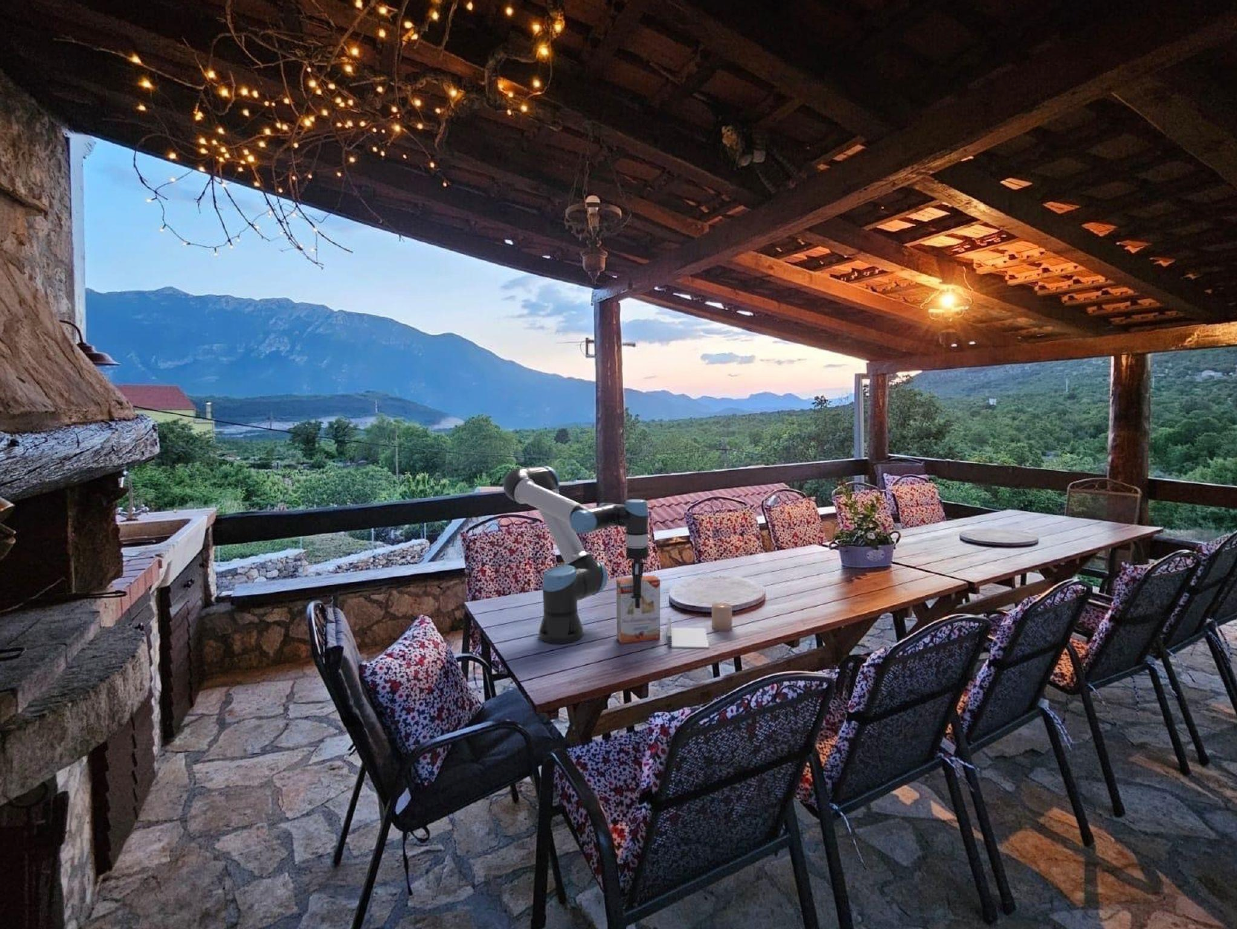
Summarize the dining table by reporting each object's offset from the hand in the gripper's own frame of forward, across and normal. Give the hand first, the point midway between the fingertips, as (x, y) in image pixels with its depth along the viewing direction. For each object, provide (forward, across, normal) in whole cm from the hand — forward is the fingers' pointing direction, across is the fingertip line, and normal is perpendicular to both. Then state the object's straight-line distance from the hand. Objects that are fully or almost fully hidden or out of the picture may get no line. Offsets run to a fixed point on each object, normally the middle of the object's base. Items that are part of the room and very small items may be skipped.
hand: (638, 612), depth 186 cm
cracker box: (+9, 0, 0) cm, 9 cm away
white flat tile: (+9, +1, -17) cm, 19 cm away
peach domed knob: (+9, +11, -29) cm, 32 cm away
